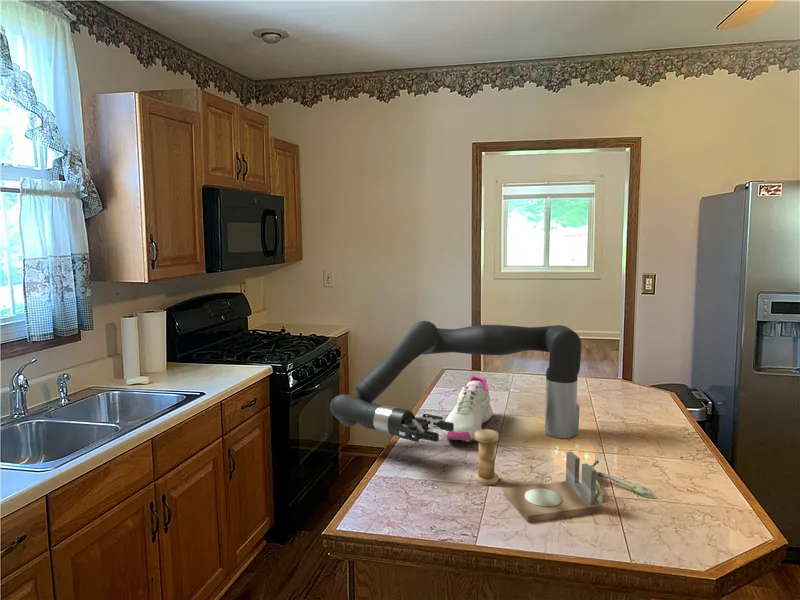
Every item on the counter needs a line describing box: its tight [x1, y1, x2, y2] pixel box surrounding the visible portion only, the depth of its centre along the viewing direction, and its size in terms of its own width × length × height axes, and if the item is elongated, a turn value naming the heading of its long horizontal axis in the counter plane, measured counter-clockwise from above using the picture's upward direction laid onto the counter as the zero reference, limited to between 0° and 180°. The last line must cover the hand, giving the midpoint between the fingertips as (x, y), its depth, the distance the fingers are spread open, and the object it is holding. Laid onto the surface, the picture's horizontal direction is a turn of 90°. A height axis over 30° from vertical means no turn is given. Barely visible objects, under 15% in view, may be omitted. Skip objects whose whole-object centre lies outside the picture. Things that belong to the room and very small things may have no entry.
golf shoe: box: [442, 375, 494, 443], centre depth 180 cm, size 12×33×15 cm, turn 162°
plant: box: [590, 459, 658, 505], centre depth 142 cm, size 15×16×6 cm
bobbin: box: [474, 428, 500, 486], centre depth 146 cm, size 6×6×12 cm
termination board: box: [503, 451, 602, 523], centre depth 134 cm, size 18×13×10 cm
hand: (445, 432), depth 151 cm, fingers open, 8 cm apart
